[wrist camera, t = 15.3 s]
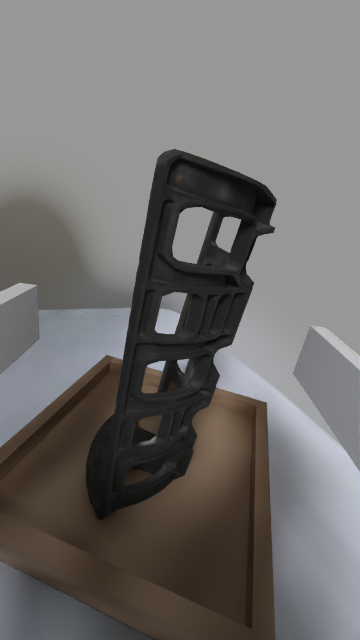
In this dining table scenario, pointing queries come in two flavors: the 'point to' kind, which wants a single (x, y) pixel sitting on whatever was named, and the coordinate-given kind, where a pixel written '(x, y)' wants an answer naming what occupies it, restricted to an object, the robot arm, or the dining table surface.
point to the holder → (191, 333)
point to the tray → (147, 517)
